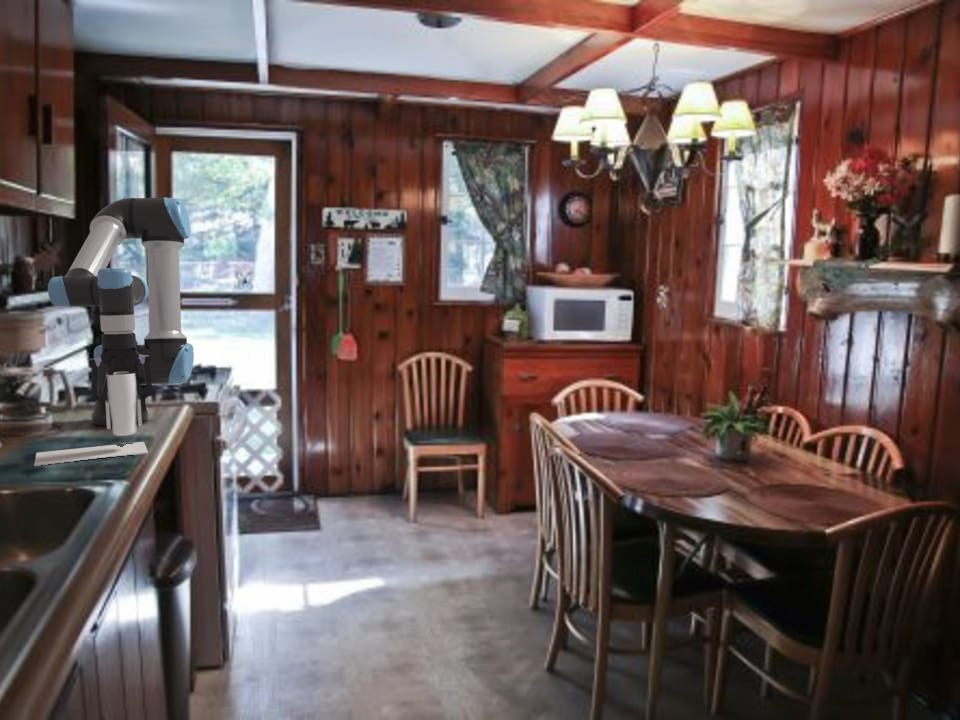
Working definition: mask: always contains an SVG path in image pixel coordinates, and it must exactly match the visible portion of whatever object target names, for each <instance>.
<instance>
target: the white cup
mask: <svg viewBox="0 0 960 720" xmlns="http://www.w3.org/2000/svg"><path fill="white" fill-rule="evenodd" d="M135 374H136V373H133V374H130V373H129V372H114V374H113V375H107V374H106V377H107V386H108V393H107V395H108V401H109V408H110V414H111V420H112V426H111V427H112V428H111V429H112V434H113V435H114V436H118V437H119V436H120V437H123V436H130V435H134V434H136V433H137V431H138V429H137V428H138V427H137V423H136V415H137V388H136V376H135Z"/></svg>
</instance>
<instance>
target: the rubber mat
mask: <svg viewBox="0 0 960 720" xmlns="http://www.w3.org/2000/svg"><path fill="white" fill-rule="evenodd" d="M132 443H133V444H126V443H125V444H126V445H124V446H123V447H120V446H117V445H116V444H110V445H109V444H108V445H97V446H89V447H79V448H70V449H69V448H68V449H61V450H51V451H50V450H49V451H48V450H47V451H41V452H40V451H39V452H36V453H35V459H34V462H33V463H34V464H33V466H34V467H41V465H43V466H49V465H48V464H52V465H56V464H55V463H61V464H65V463H64V462H71V463H75V462H74V461H80V460H88V459H97V458H106V457H116V456H125V457H128V456H127V455H134V456H141V455H143V456H144V455H149V451H148V447H147V446H146V444H145V441H137V442H132ZM116 458H117V457H116ZM80 462H81V461H80Z"/></svg>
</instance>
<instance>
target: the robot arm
mask: <svg viewBox="0 0 960 720" xmlns="http://www.w3.org/2000/svg"><path fill="white" fill-rule="evenodd" d="M190 237H191V223H190V217H189V213H188V210H187V208H186V206H185V204H184V202H183V201H182V200H181V199H179V198H172V197H165V196H164V197H126V198H121V199H118V200H115V201H113V202H111V203H110V204H109V203H108V205H106V206H105V207H103V208H102V209H101V210H100V211H98V212H97V214H95V216H93V219H92V220H91V222H90V224H89V234H88V236H87V237H86V239H85V241H84V242H83V244H82V246H81V248H80V250H79V251H78V254H77V255H76V257H75V258H74V260H73V262H72V264H71V265H70V268H69V269H68V271H67V272H66V274H65V276H62V275H60V276H53V277H52V278H50V279H49V282H48V285H47V294H48V298H49V301H50V303H51V304H52V305H53V306H55V307H65V308H66V307H67V308H72V307H74V308H75V307H76V308H77V307H78V308H79V307H99V321H100V331H101V332H102V334H101V335H100V336H101V344H99V345H98V346H96V347H95V348H94V351H93V358H89V360H88V362H89V365H90V367H91V393H90V394H91V395H90V396H91V400H92V401H95V402H94V406H93V412H92V414H91V418H90V419H91V424H92V425H95V426H105V427H106V428H107V430H111V429H112V428H111V427H112V420H111V414H110V408H109V401H108V395H107V393H108V386H107V377H106V374H107V375H113V374H114V372H129V373H130V374H133V373H136V374H135V376H136V388H137V415H136V424H137V425H138V427H142V426H143V422H145V421H147V420H149V410H148V409H147V408H146V407H147V403H146V401H147V400H146V399H147V398H148V397H151V396H153V395H154V391H153V385H174V384H184V383H186V382H187V381H188V380H189V378H190V377H191V374H192V372H193V367H194V360H195V358H194V357H195V352H194V346H193V344H191V343H189V342H188V338H187V336H185V335H184V334H183V333H182V323H181V322H182V318H181V315H182V314H181V290H180V289H181V284H180V283H181V282H180V279H181V277H180V275H181V274H180V251H181V249H182V248H183V247H184V246H185V240H187V239H189V238H190ZM128 239H141V245H142V246H143V248H145V249H146V250H147V254H146V255H147V282H146V281H145V280H144V279H143V278H141V277H140V276H137V275H133V273H132V270H131V269H130V268H128V267H126V268H125V267H123V268H122V267H118V268H117V267H115V268H114V267H113V268H108V265H109V263H110V261H111V259H112V257H113V256H114V253H115V251H116V249H117V247H118V246H119V245H121V244H123V243H124V241H125V240H128ZM147 298H148V322H149V323H148V324H149V325H148V328H149V332H148V334H147V335H145V337H144V339H143V344H139V342H138V340H137V335H136V333H135V332H134V331H135V330H136V321H135V307H136V306H138V305H140V304H142V303H144V302H145V301H146V299H147ZM142 385H145V388H146V391H144V390H143V388H142Z"/></svg>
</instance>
